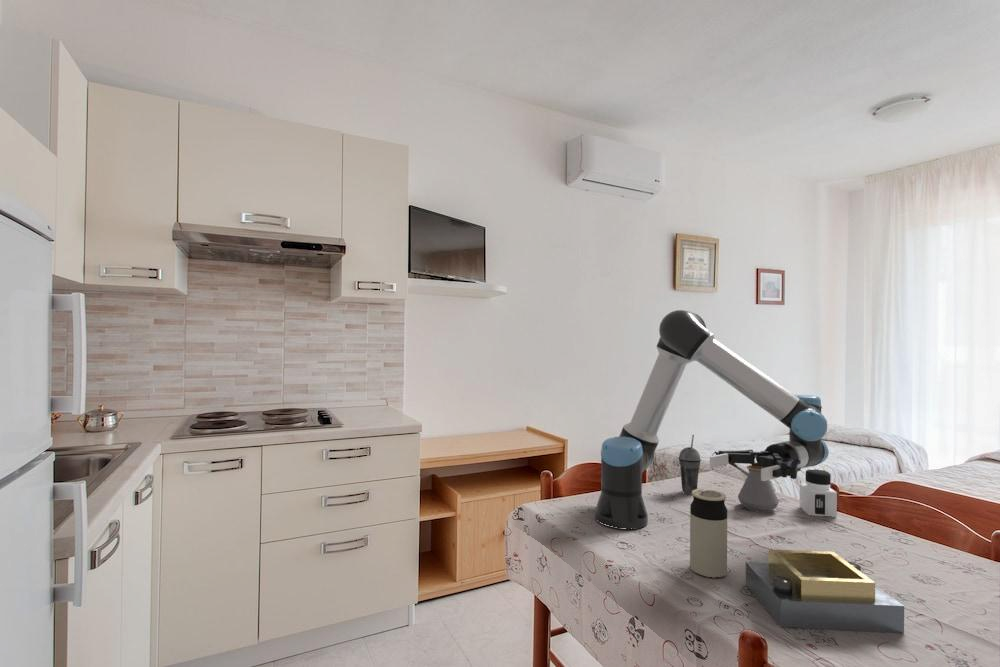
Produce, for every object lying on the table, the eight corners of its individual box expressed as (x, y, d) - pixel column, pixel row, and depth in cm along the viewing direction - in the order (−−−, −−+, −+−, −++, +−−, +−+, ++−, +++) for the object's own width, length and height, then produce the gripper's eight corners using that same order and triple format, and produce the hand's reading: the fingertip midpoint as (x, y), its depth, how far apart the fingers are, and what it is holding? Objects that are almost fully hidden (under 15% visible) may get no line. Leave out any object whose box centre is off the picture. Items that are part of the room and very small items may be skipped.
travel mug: (734, 572, 116) (734, 495, 116) (713, 582, 112) (714, 501, 111) (703, 559, 123) (703, 486, 122) (682, 568, 118) (683, 491, 118)
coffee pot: (785, 510, 157) (786, 462, 157) (766, 517, 151) (766, 467, 151) (723, 491, 175) (723, 448, 175) (702, 497, 169) (703, 453, 169)
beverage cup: (674, 489, 177) (675, 432, 177) (694, 489, 178) (695, 432, 178) (683, 496, 170) (684, 437, 170) (704, 495, 171) (705, 436, 171)
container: (837, 517, 151) (837, 474, 151) (808, 515, 153) (809, 473, 153) (826, 509, 159) (826, 467, 159) (799, 507, 160) (799, 466, 160)
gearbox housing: (780, 627, 95) (781, 582, 95) (745, 584, 111) (745, 546, 111) (904, 633, 93) (904, 587, 93) (850, 588, 109) (850, 549, 109)
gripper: (836, 483, 122) (787, 498, 111) (741, 461, 144) (692, 471, 133) (836, 452, 122) (787, 464, 111) (741, 434, 144) (692, 443, 133)
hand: (735, 468), depth 122 cm, fingers open, 13 cm apart
